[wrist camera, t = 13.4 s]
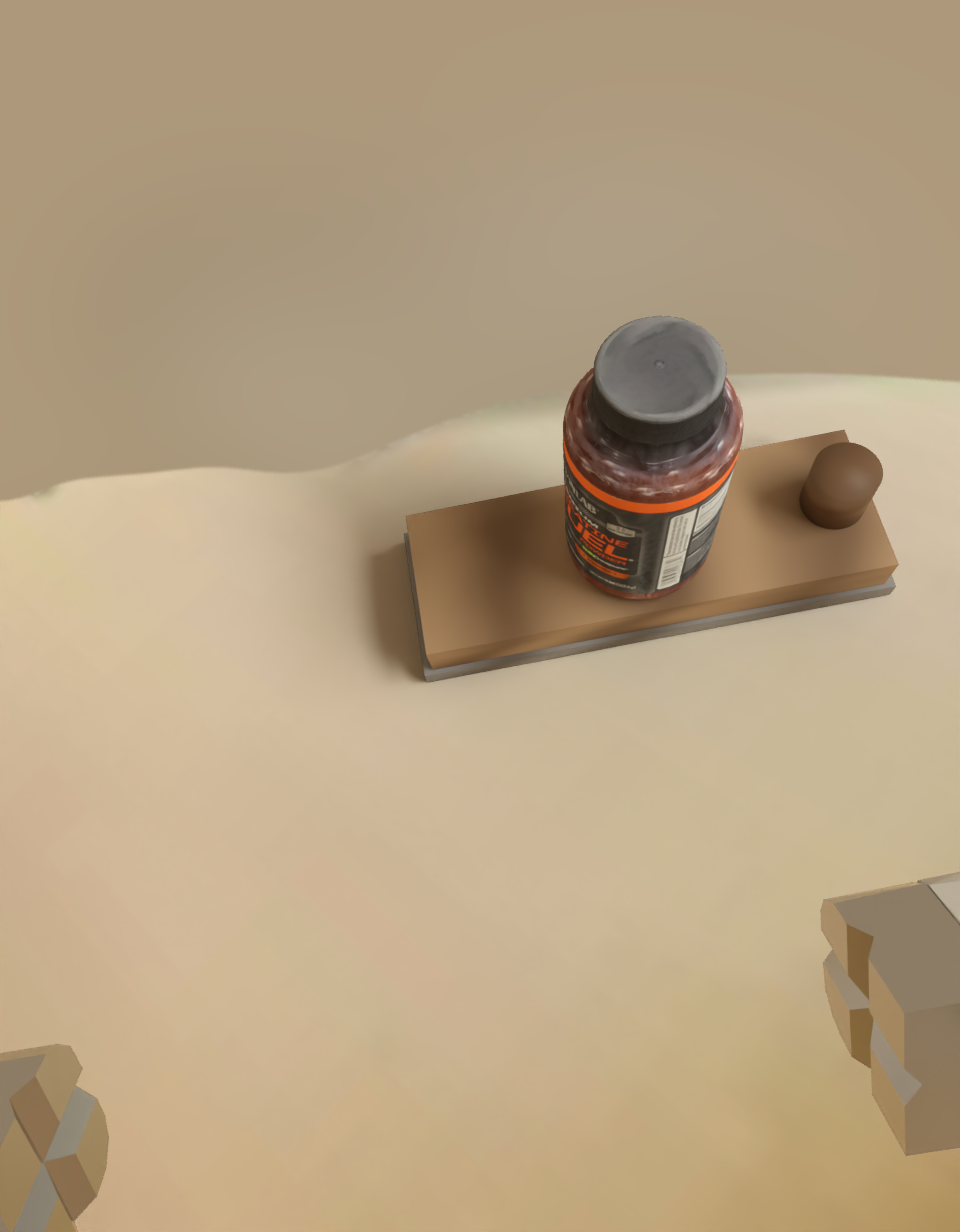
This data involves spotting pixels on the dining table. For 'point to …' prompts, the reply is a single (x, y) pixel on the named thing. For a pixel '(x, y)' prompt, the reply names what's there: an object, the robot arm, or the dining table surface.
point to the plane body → (717, 596)
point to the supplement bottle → (649, 457)
